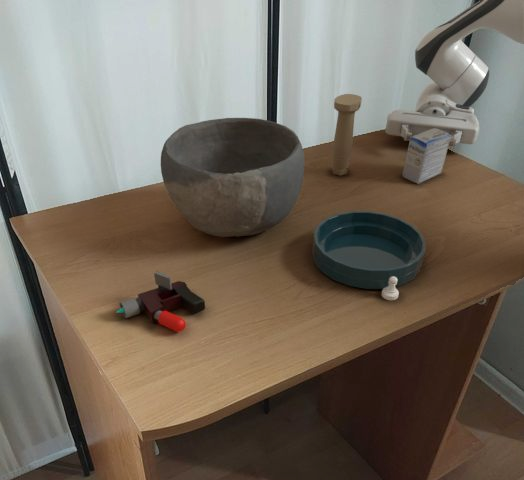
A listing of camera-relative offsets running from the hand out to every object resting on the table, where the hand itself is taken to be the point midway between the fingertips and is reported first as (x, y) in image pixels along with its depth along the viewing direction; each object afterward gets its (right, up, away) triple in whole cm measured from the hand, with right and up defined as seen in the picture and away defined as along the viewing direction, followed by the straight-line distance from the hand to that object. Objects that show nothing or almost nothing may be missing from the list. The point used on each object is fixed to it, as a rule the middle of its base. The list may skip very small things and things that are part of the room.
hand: (429, 139), depth 116 cm
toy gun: (-51, -41, -38) cm, 76 cm away
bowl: (-42, -22, -17) cm, 50 cm away
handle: (-20, -8, -2) cm, 22 cm away
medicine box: (-3, -9, -2) cm, 10 cm away
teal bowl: (-19, -30, -26) cm, 44 cm away
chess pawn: (-17, -37, -33) cm, 53 cm away
